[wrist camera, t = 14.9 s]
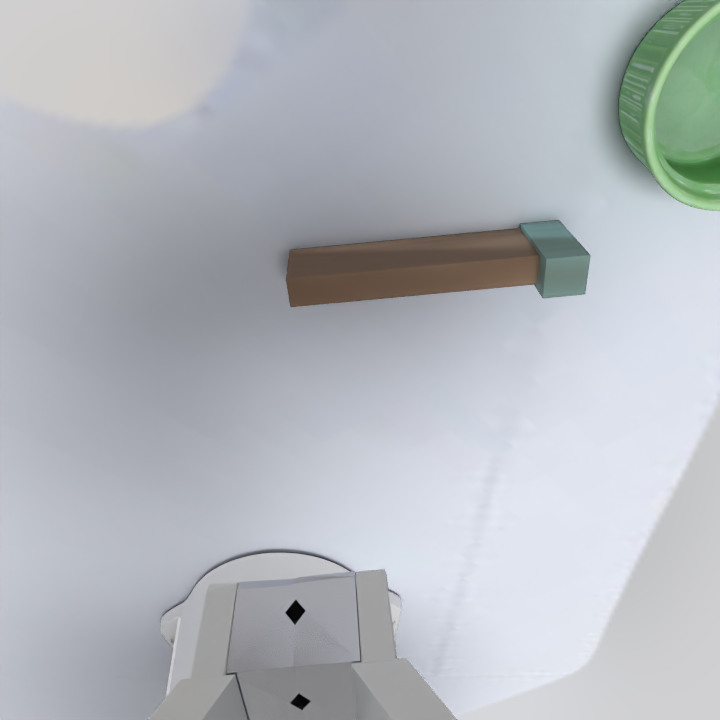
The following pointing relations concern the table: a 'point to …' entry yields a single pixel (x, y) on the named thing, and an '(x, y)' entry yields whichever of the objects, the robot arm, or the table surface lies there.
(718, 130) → the ramekin
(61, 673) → the table surface
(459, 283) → the green tipped sticks
